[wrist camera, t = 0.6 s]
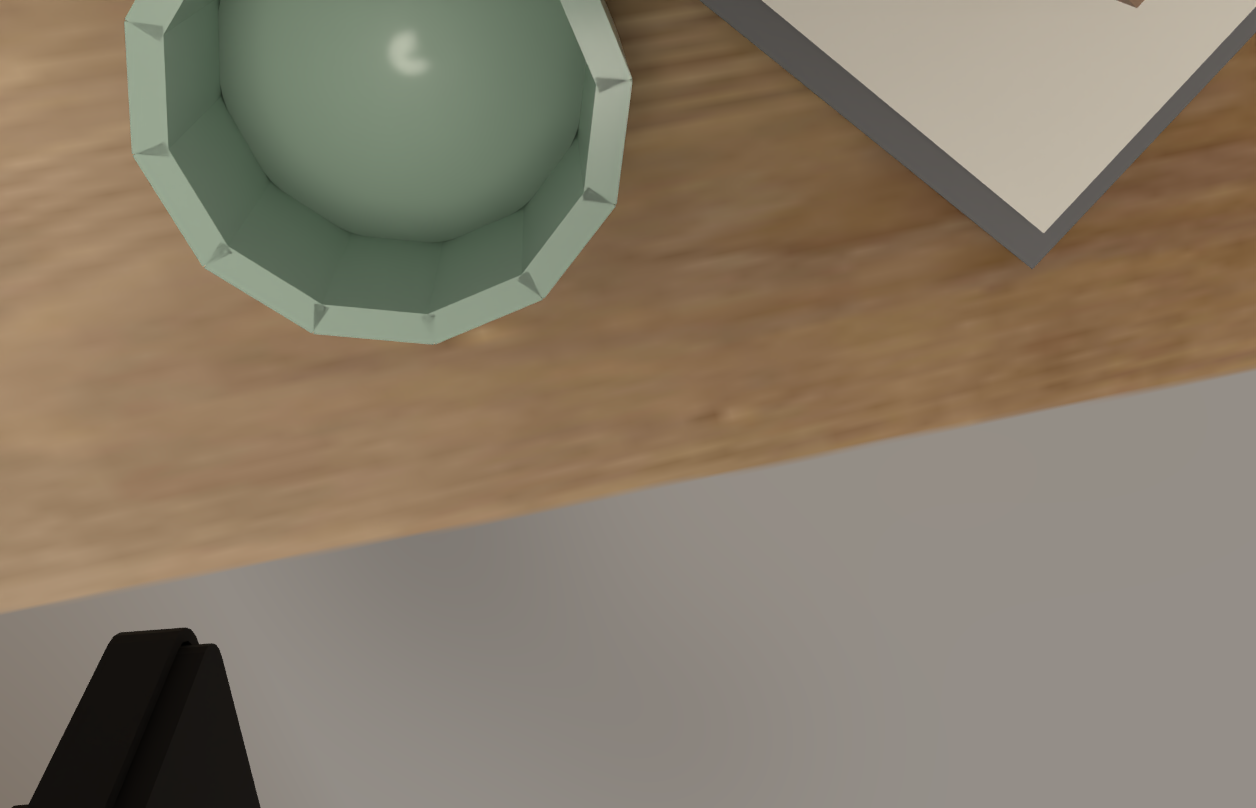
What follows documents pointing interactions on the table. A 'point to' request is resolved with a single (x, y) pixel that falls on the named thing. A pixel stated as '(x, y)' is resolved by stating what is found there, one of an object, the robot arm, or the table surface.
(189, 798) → the robot arm
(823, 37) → the lid
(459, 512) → the table surface
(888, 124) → the mat
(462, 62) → the bowl
